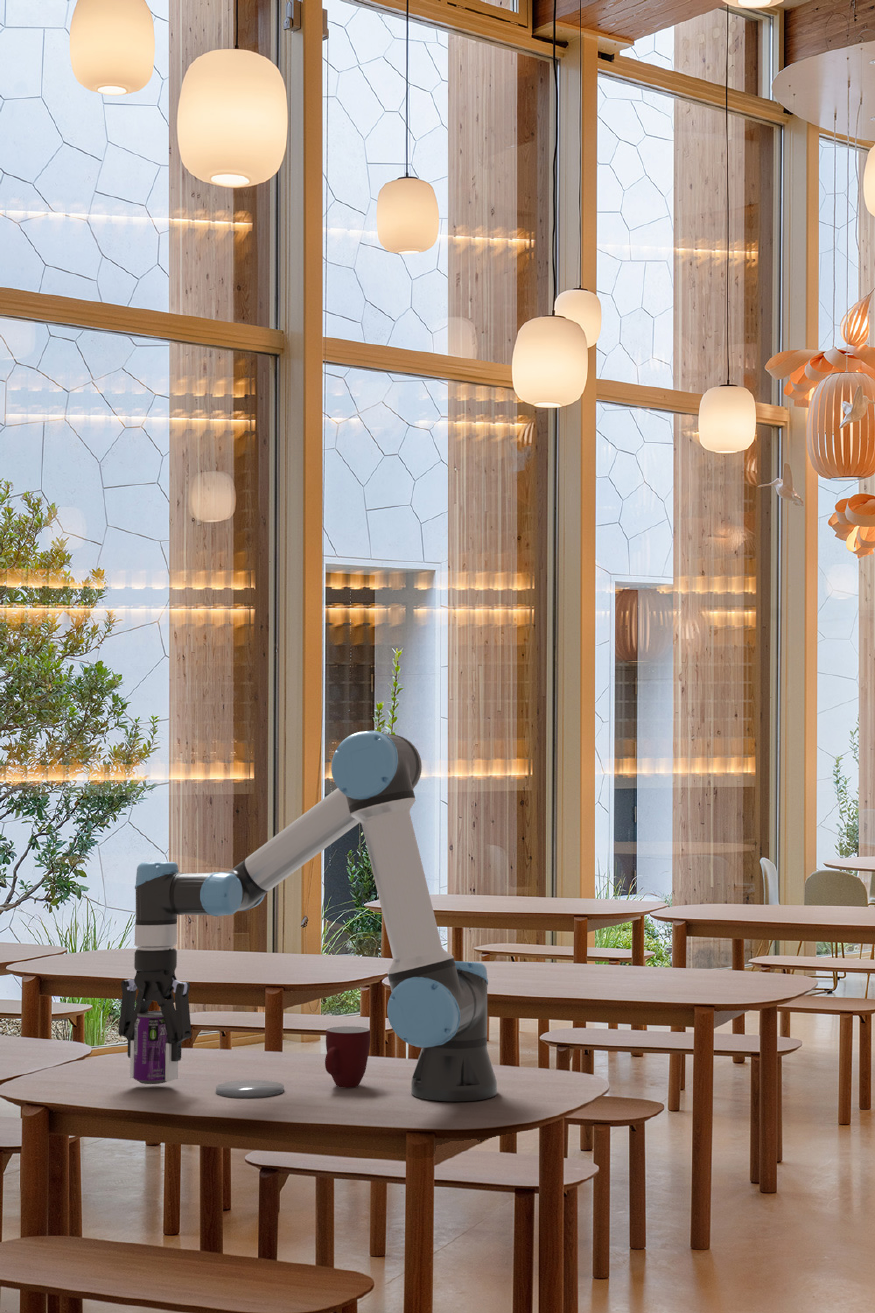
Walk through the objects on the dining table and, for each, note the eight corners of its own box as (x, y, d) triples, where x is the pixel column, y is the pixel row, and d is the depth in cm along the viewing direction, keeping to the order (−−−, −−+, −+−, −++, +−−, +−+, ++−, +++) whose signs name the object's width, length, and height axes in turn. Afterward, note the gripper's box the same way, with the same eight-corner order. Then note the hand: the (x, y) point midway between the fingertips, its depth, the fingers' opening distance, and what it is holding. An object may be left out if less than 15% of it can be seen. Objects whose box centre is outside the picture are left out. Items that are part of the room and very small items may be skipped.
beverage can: (161, 1086, 245) (162, 1016, 247) (125, 1084, 248) (127, 1015, 249) (181, 1079, 252) (182, 1011, 253) (146, 1077, 254) (147, 1010, 256)
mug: (351, 1094, 246) (352, 1036, 247) (310, 1090, 249) (311, 1033, 250) (377, 1084, 255) (377, 1028, 256) (337, 1080, 258) (338, 1025, 259)
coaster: (296, 1088, 250) (296, 1084, 251) (259, 1100, 240) (259, 1095, 240) (240, 1082, 256) (240, 1078, 256) (202, 1094, 245) (202, 1089, 245)
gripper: (213, 948, 252) (212, 1079, 249) (124, 944, 260) (122, 1071, 258) (188, 951, 245) (187, 1086, 242) (98, 948, 254) (95, 1077, 251)
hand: (153, 1078), depth 250 cm, fingers closed on beverage can, 7 cm apart
